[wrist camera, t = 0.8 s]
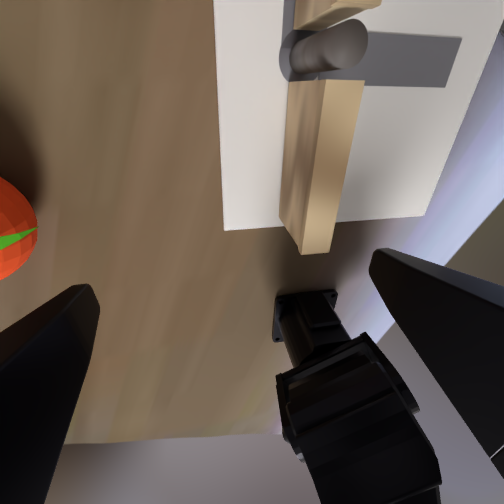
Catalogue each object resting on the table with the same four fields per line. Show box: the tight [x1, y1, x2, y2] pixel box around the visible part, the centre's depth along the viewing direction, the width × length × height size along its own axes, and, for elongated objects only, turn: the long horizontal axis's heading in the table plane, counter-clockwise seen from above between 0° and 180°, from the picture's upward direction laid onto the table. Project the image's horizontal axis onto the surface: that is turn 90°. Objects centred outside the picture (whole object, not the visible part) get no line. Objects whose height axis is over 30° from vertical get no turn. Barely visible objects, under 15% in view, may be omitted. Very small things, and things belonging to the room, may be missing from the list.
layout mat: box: [213, 0, 504, 231], centre depth 16 cm, size 20×18×1 cm
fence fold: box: [279, 79, 365, 255], centre depth 16 cm, size 9×2×6 cm, turn 179°
